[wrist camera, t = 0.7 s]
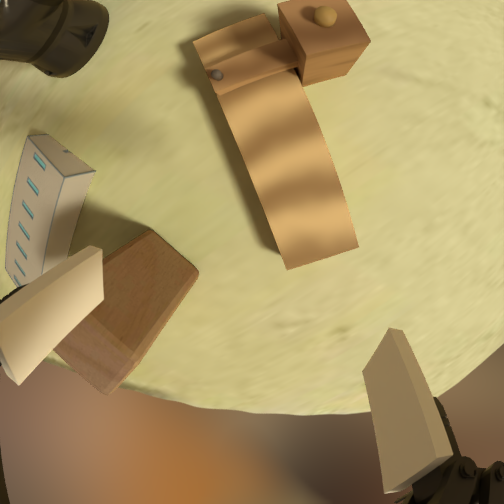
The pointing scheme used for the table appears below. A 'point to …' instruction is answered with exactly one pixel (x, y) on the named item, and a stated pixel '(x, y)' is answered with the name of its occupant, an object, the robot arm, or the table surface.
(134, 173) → the table surface
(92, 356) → the wooden block
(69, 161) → the warehouse
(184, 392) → the table surface
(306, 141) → the plank
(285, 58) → the wooden box
